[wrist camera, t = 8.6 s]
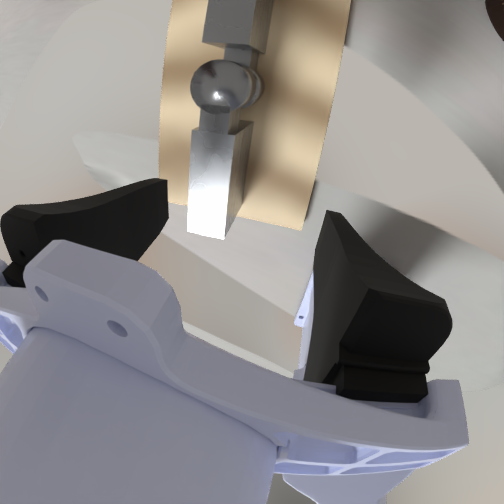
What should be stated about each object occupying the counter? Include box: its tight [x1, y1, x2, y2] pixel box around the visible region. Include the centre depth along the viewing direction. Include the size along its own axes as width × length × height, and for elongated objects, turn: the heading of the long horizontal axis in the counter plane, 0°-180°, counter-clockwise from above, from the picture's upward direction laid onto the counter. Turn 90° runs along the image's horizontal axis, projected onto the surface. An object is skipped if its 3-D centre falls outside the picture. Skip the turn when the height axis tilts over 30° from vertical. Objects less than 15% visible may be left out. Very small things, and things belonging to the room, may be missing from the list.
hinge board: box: [159, 0, 351, 231], centre depth 16 cm, size 20×12×1 cm, turn 172°
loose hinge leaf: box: [188, 59, 257, 239], centre depth 16 cm, size 10×3×5 cm, turn 172°
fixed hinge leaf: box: [202, 0, 274, 109], centre depth 12 cm, size 10×3×5 cm, turn 172°
